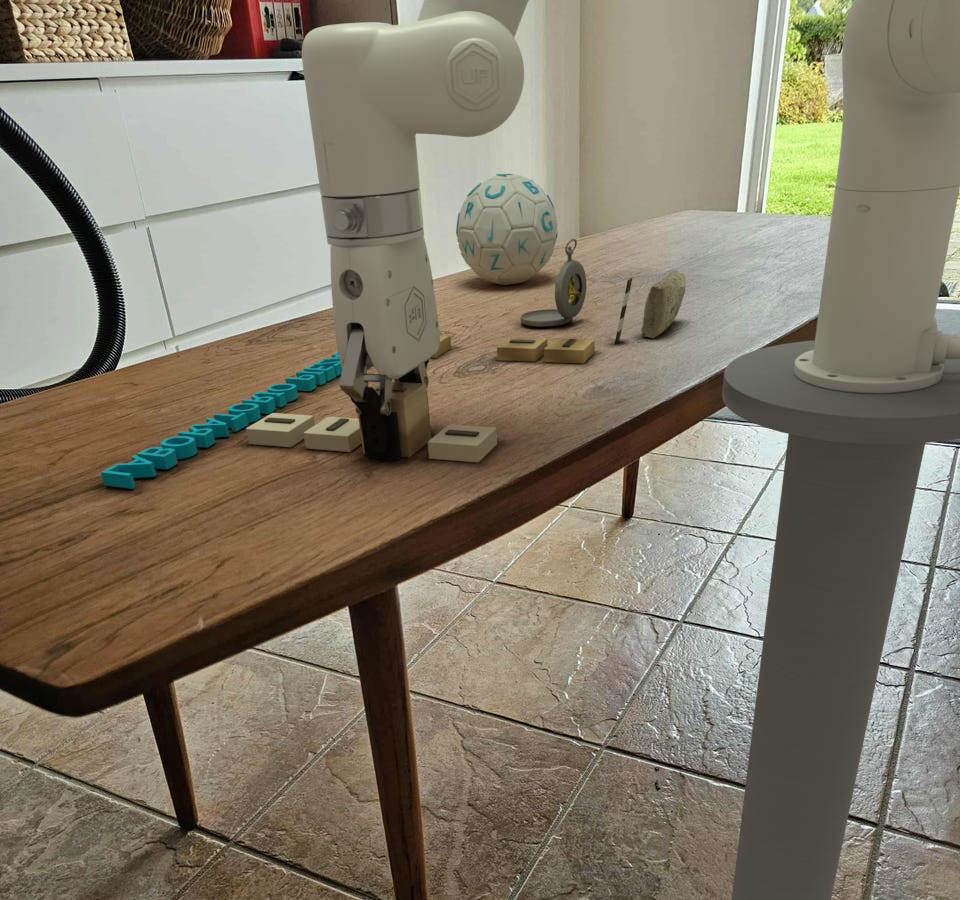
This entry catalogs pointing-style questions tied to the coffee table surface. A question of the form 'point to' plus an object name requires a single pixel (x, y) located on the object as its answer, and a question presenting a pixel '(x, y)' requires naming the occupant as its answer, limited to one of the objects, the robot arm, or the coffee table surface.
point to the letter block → (409, 415)
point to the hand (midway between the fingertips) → (398, 443)
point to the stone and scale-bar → (658, 304)
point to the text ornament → (220, 425)
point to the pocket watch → (562, 295)
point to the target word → (347, 436)
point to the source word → (536, 349)
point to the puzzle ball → (507, 229)
